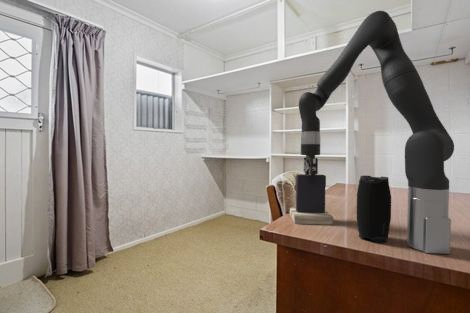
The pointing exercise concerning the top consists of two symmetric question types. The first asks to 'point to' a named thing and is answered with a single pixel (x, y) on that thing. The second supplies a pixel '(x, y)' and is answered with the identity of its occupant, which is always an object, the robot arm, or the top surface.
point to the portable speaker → (373, 208)
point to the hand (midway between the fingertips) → (310, 183)
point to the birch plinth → (311, 217)
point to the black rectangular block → (310, 194)
